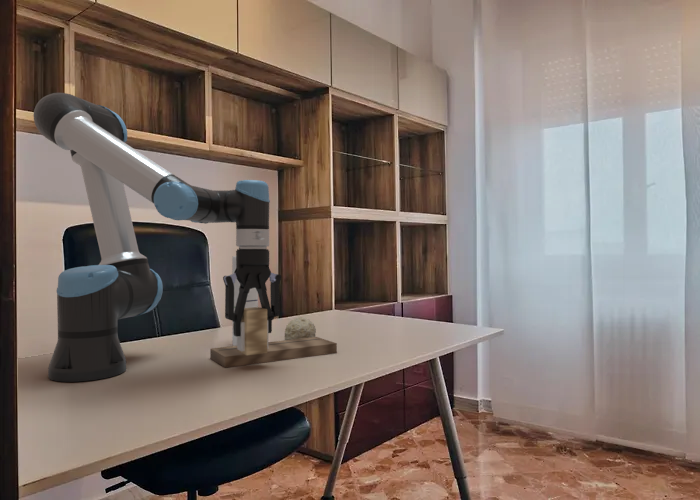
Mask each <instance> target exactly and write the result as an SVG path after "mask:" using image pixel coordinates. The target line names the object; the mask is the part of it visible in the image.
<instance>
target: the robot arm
mask: <svg viewBox="0 0 700 500" xmlns="http://www.w3.org/2000/svg"><path fill="white" fill-rule="evenodd" d="M33 123H34V125H35V127H36V129H37V131H38V132H39V133H40V134H41V136H43V137H44V138H45V139H46V140H48V141H50V142H52V143H53V144H55V145H56V146H57V147H59V148H61V149H63V150H66V151H69V152H70V155H71V160H72V161H73V162H74V163H75V164H77V165H79V166H80V169H81V174H82V178H83V183H84V187H85V191H86V196H87V199H88V204H89V209H90V212H91V217H92V222H93V226H94V230H95V231H94V232H95V235H96V239H97V243H98V248H99V254H100V258H101V260H100V262H99V264H94V265H93V264H92V265H87V266H85V265H84V266H83V265H82V266H77V267H72V268H68V269H65V270H63V271H62V272H61V273H60V274H58V277H57V287H56V298H57V299H56V301H57V302H56V303H57V307H56V308H57V342H56V345H55V348H54V350H53V353H52V356H51V357H50V358H51V359H50V362H49V365H48V368H47V369H48V376H47V377H48V379H49V380H52V381H56V382H63V383H64V382H71V383H73V382H87V381H96V380H102V379H107V378H111V377H115V376H117V375H120V374H123V373H124V372H126V371H127V359H126V356H125V353H124V350H123V348H122V344H121V341H120V339H119V336H118V334H119V333H118V320H121V319H126V318H131V317H132V318H133V317H138V316H141V315H144V314H146V313H149V312H151V311H152V310H154V309H155V307H157V306H158V304H159V302H160V301H161V298H162V296H163V293H164V292H163V290H164V289H163V288H164V286H163V281H162V278H161V277H160V275H159V274H158V273H157V272H156V271H155V270H153V269H152V268H150V264H149V259H148V257H147V256H145V255H143V254H142V253H140V250H139V246H138V243H137V238H136V233H135V230H134V229H135V227H134V226H133V225H134V224H133V220H132V216H131V211H130V207H129V203H128V198H127V193H126V190H125V186H126V187H128V188H129V189H131V190H133V191H134V192H136V193H137V194H138V195H140V196H142V197H143V198H145V199H146V200H148V201H149V202H150V203H152V204H154V207H155V209H156V211H157V212H158V213H159V215H161V216H163V217H165V218H167V219H170V220H174V221H190V222H192V223H199V224H211V223H212V224H213V223H214V224H215V223H216V224H217V223H221V224H222V223H235V235H236V236H235V246H236V247H238V248H237V250H235V256H236V270H235V272H234V274H232V273H231V274H229V275H223V277H222V280H223V282H224V286H225V288H224V289H225V291H224V292H225V294H224V296H225V298H224V299H225V301H224V303H225V304H224V307H225V308H224V318H225V319H227V320H229V321H233V323H234V336H236V337H237V349H238V350H240V351H245V322H242V321H241V320H242V316H243V312H244V308H245V304H246V299H247V295H248V293H249V291H250V289H252V288H256V290H257V292H258V300H259V303H260V307H261V308H264V309H267V348H268V342H269V334H272V330H273V320H274V318H276V317H280V311H281V309H280V305H281V304H280V284H281V280H282V275H281V274H278V273H274V272H272V271H271V269H270V250H269V249H268V248H267V247H269V246H270V203H271V200H270V189H269V184H268V183H267V182H266V181H264V180H259V179H258V180H257V179H243V180H242V179H241V180H238V181H237V182H236V183H235V189H231V190H212V189H207V188H203V187H199V186H195V185H191V184H189V183H188V182H186V181H185V180H183V179H181V178H180V177H178V176H177V175H175V174H174V173H173V172H172V171H169V170H168V169H166V168H164V167H163V166H161V165H160V164H158V163H157V162H155V161H154V160H152V159H151V158H150V157H147V156H146V155H144V154H143V153H142V152H140V151H138V150H137V149H135V147H134V148H133V147H132V146H130V145H129V144H127V143H126V142H127V141H128V129H127V126H126V124H125V121H124V120H123V118H121V116H120V115H119V114H118V113H116V112H115V111H113V110H111V109H110V108H108V107H106V106H104V105H100V104H96V103H93V102H90V101H88V100H86V99H83V98H80V97H78V96H75V95H73V94H71V93H66V92H53V93H50V94H47V95H45V96H43V97H42V98H41V99H39V101H38V102H37V103H36V105H35V108H34V109H33ZM124 185H125V186H124ZM236 278H237V280H238V281H239V283H240V288H239V295H238V299H237V303H236V307H235V311H234V283H235V279H236ZM268 280H269V281H270V284H269V286H270V288H269V289H270V301H269V296H268V292H267V291H268V290H267V285H266V283H267V281H268Z"/></svg>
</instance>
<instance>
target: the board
mask: <svg viewBox="0 0 700 500" xmlns="http://www.w3.org/2000/svg"><path fill="white" fill-rule="evenodd" d="M337 347H338V343H337V342H333V341H332V340H331V341H330V340H328V339H325V338H321V337H318V336H315V337H311V338H301V339H292V340H285V339H284V340H275V341H268V348H267V353H262V354H254V355H245V354H243V353H241V352H239V350H238V349H237V346H234V345H232V346H231V345H230V346H229V345H228V346H221V347H212V348H210V359H211V360H212V361H214V362H215V363H217V364H219V365H220V366H221V367H223V368H226V369H227V368H232V367H233V368H234V367H241V366H247V365H255V364H262V363H264V364H265V363H270V362H271V363H272V362H275V361H285V360H292V359H294V360H295V359H298V358H299V359H301V358H308V357H315V356H322V355H324V356H325V355H329V354H331V355H332V354H337V353H338V349H337Z"/></svg>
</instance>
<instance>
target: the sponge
mask: <svg viewBox="0 0 700 500" xmlns="http://www.w3.org/2000/svg"><path fill="white" fill-rule="evenodd" d="M316 331H317V329H316V325H315V324H314V323H313V321H312V320H310V319H309V318H306V317H300V316H298V317H296V318H293V319H291V320H290V321H289V322H288V323H287V325H286V327H285V329H284V337H283V338H284V340H292V339H301V338H311V337H316V333H317V332H316Z"/></svg>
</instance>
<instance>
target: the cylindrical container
mask: <svg viewBox="0 0 700 500" xmlns="http://www.w3.org/2000/svg"><path fill="white" fill-rule="evenodd" d="M231 261H232V266H231V267H232V271H231V274H234V272H235V270H236V255H234V256H232V258H231ZM239 288H240V283H239V281H238V280H237V278H236V279H235V283H234V311H235V307H236V303H237V299H238V295H239ZM252 307H259V295H258V292H257V290H256V288H252V289H250V291H249V293H248V295H247V299H246V304H245V308H252ZM231 321H232V320H231ZM231 324H232V325H231V326H232V332H231V333H232V337H231V338H232V341H231V342H232V346H237V337H236V336H234V329H233V321H232V323H231Z"/></svg>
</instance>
